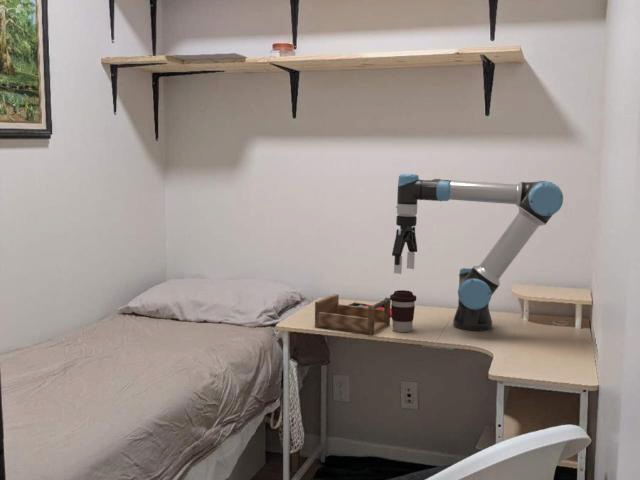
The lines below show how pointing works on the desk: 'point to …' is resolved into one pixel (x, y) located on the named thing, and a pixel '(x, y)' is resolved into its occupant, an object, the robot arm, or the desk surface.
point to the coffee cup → (402, 310)
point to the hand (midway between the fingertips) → (404, 271)
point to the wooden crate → (351, 316)
